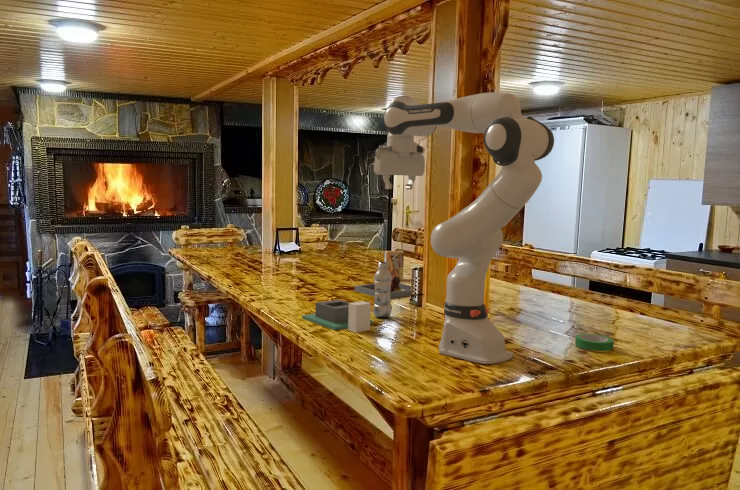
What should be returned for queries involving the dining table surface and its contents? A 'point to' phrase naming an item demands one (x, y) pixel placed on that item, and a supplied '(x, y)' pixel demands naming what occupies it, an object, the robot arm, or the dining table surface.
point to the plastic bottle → (382, 291)
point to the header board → (326, 323)
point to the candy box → (395, 263)
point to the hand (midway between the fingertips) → (399, 189)
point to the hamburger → (395, 284)
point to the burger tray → (406, 292)
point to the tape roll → (594, 342)
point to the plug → (359, 316)
